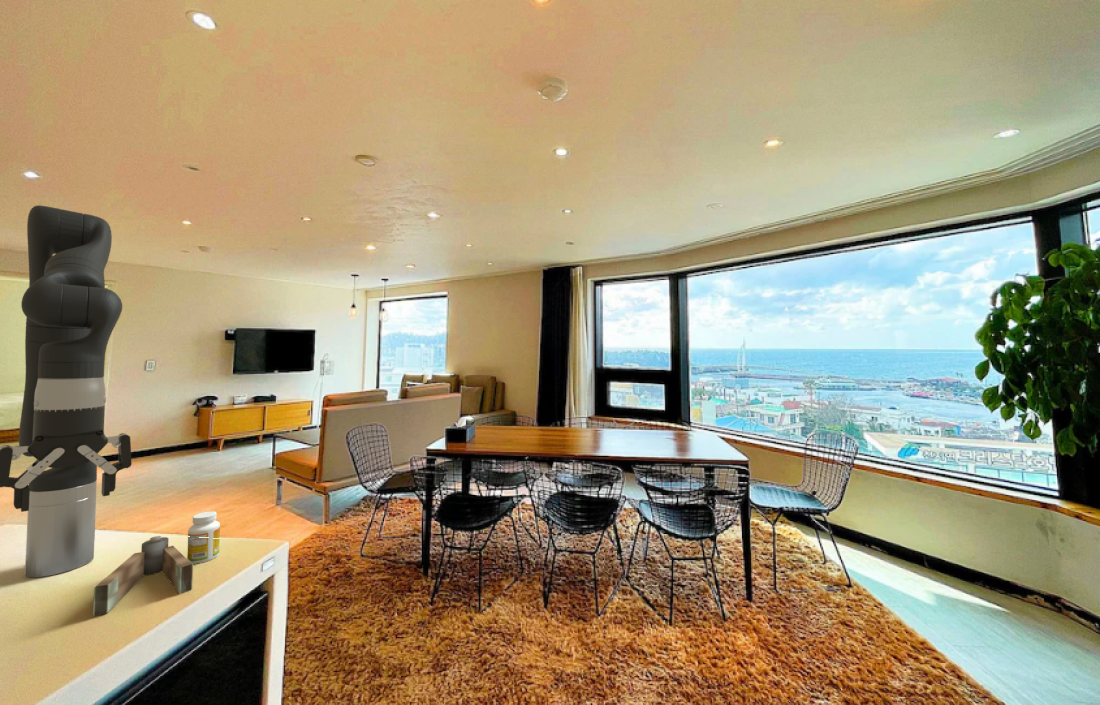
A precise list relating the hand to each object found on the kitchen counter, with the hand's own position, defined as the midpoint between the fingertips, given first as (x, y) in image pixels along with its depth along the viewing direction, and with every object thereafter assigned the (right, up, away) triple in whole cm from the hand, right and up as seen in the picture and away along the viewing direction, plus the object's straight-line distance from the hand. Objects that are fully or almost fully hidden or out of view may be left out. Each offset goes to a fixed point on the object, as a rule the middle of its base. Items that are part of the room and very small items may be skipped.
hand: (67, 502), depth 66 cm
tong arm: (0, -21, +9) cm, 22 cm away
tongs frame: (+3, -21, +14) cm, 25 cm away
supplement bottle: (+3, -21, +23) cm, 31 cm away
